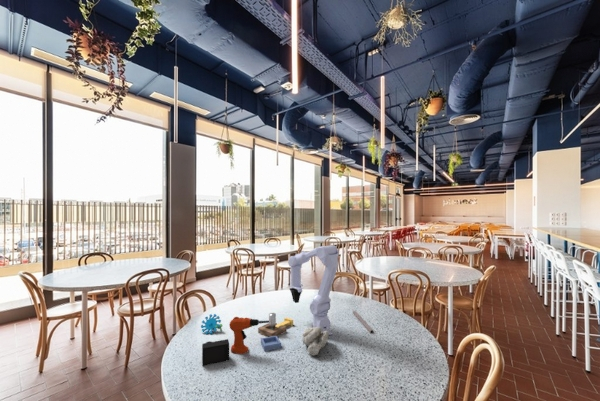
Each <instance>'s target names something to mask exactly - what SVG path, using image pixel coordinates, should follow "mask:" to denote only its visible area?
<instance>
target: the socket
mask: <svg viewBox="0 0 600 401" xmlns="http://www.w3.org/2000/svg"><path fill="white" fill-rule="evenodd" d="M277 324H278V323H277V322H276V325H277ZM257 328H258V329H257V332H258V334H260V335H262V336H263V337H272V336H277V337H278V336H280V335H282V334H285V333H286V332H287V330H288V328H290V326H289V324H288V325H286V326H283V325H281V326H279V327H278V328H276V329H274V330H270V329H269V323H265V324H264V325H261V326H260V327H257Z"/></svg>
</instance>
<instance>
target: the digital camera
mask: <svg viewBox="0 0 600 401" xmlns="http://www.w3.org/2000/svg"><path fill="white" fill-rule="evenodd" d="M201 346H202V348H201V355H202V356H201V362H202V363H201V364H202V367H206V366H211V365H215V364H220V363H224V362H229V361H230V341H229V338H227V339H221V340H214V341H206V342H205V343H202V345H201Z"/></svg>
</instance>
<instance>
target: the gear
mask: <svg viewBox="0 0 600 401" xmlns="http://www.w3.org/2000/svg"><path fill="white" fill-rule="evenodd" d="M208 315H209V317H208V316H205V317H204V319H205V320H202V321H201V323H202V324H201V325H200V328H201V331H202V333H204V334H206V335H208V334H209V335H212V334H214V333H213V331H214V332H217V331H218V330H220V331H222V329H223V328H222V327H223V324H222V323H221V322H222V320H221V319H220V316H219V315H217V314H216V313H214V314H212V313H211V314H208Z"/></svg>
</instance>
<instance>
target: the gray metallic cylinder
mask: <svg viewBox="0 0 600 401" xmlns="http://www.w3.org/2000/svg"><path fill="white" fill-rule="evenodd" d="M276 314H277V313H275V312H270V313H268V321H269V329H270V330H274V329H276V323H277V321H276V319H277V315H276Z"/></svg>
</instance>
